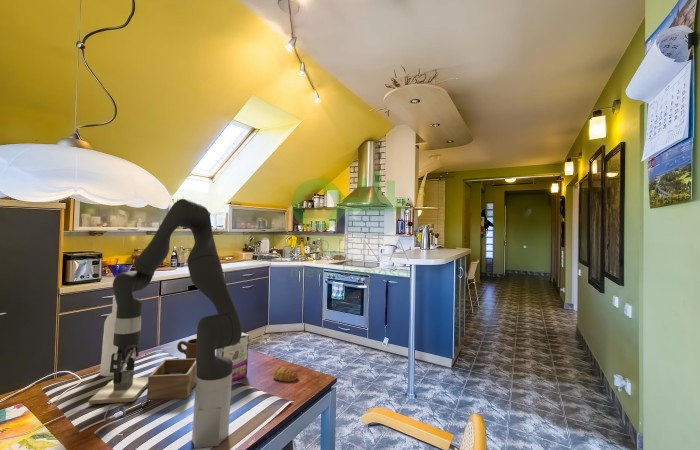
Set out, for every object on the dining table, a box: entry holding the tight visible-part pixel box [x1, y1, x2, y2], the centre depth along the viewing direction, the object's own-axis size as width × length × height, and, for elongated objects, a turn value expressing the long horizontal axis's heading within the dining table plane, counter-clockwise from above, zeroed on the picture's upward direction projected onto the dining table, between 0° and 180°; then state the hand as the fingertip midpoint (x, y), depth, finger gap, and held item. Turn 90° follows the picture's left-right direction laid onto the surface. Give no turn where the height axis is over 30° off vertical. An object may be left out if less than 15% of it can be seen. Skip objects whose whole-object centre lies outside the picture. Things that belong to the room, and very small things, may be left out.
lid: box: [88, 369, 149, 405], centre depth 104 cm, size 15×13×7 cm
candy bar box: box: [215, 331, 250, 382], centre depth 118 cm, size 11×5×16 cm, turn 143°
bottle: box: [99, 294, 127, 377], centre depth 119 cm, size 8×8×30 cm
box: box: [146, 358, 197, 402], centre depth 108 cm, size 14×12×8 cm
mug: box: [176, 337, 197, 359], centre depth 130 cm, size 12×8×9 cm, turn 89°
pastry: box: [272, 366, 299, 382], centre depth 121 cm, size 9×7×4 cm
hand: (123, 377), depth 104 cm, fingers open, 8 cm apart
